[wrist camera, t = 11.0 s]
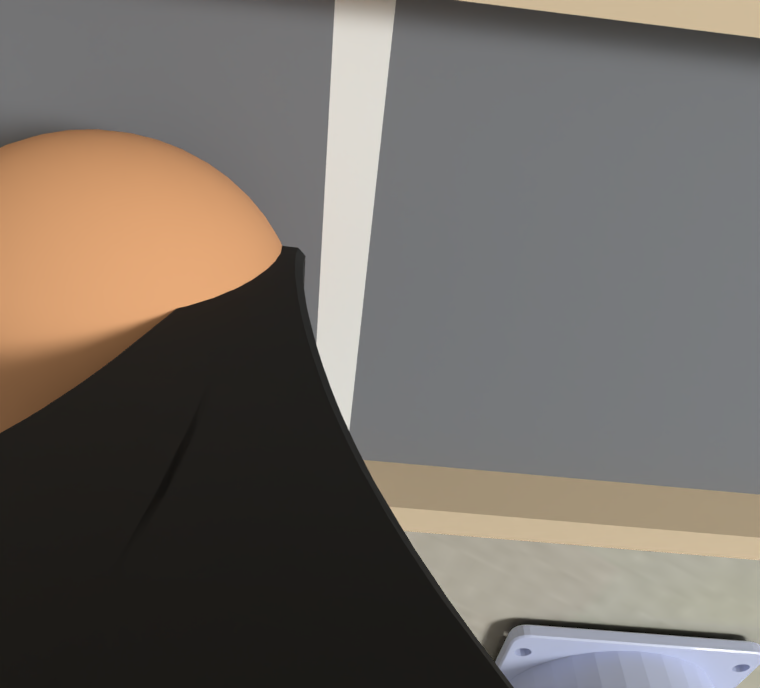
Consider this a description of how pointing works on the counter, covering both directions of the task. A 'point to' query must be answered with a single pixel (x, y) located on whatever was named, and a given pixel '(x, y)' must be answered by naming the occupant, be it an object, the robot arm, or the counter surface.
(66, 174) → the ball
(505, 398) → the lane
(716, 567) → the counter surface
